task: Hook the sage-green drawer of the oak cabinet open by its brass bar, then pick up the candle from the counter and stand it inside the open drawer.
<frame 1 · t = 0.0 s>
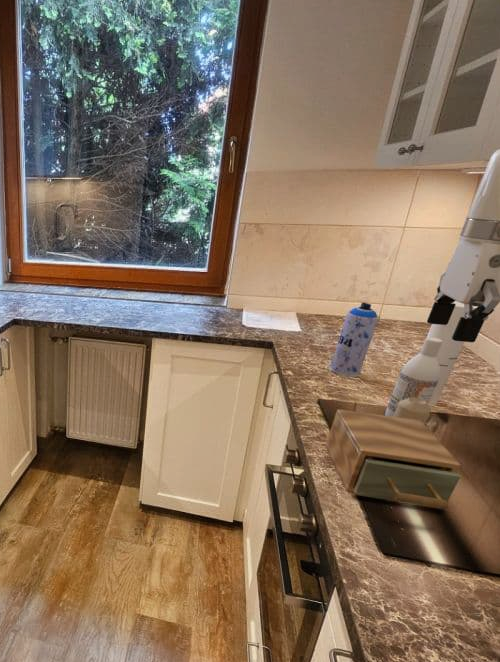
hand: (449, 332, 84), 27 cm above the countertop, tool pointing down, fingers open, 9 cm apart
drawer: (396, 471, 84), point 4 cm above the countertop, slide at 1.0 cm
bath foam: (401, 420, 110), on the countertop
aerosol can: (344, 371, 136), on the countertop
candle: (399, 441, 102), on the countertop
cylindrical container: (419, 399, 121), on the countertop
cabinet: (377, 473, 91), on the countertop
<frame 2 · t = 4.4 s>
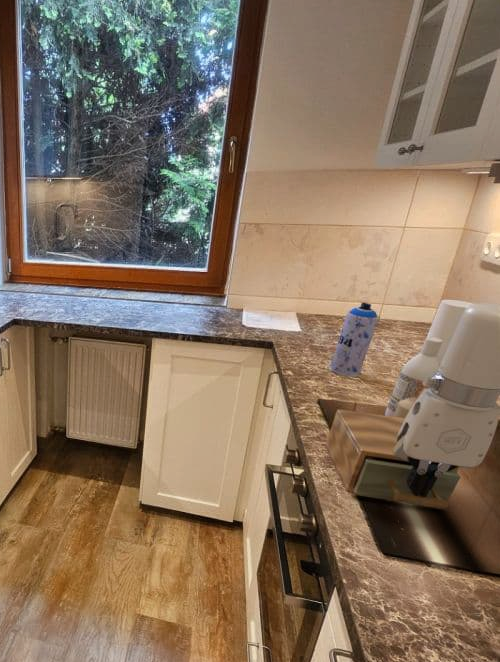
hand: (416, 490, 76), 6 cm above the countertop, tool pointing down, fingers closed
drawer: (396, 471, 84), point 4 cm above the countertop, slide at 1.0 cm, touching gripper
everything else where it was.
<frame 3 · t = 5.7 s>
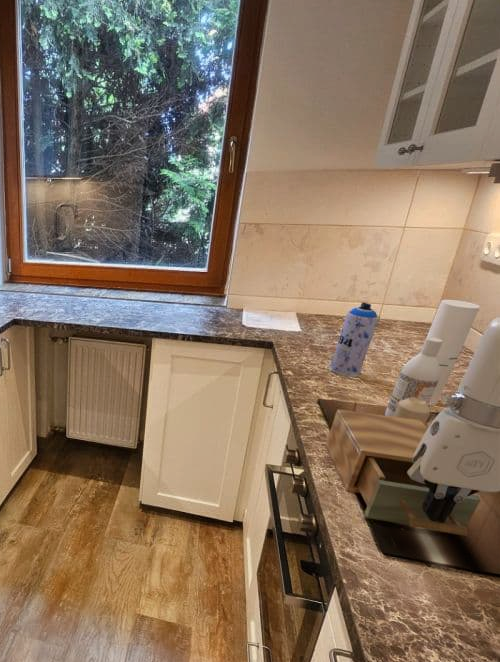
hand: (432, 515, 71), 6 cm above the countertop, tool pointing down, fingers closed
drawer: (410, 492, 78), point 4 cm above the countertop, slide at 7.2 cm, touching gripper
everything else where it was.
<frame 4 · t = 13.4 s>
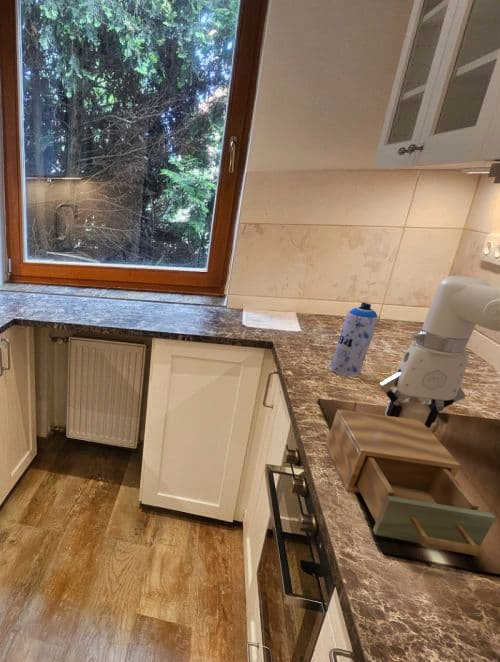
hand: (408, 421, 100), 5 cm above the countertop, tool pointing down, fingers closed on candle, 5 cm apart
drawer: (420, 508, 75), point 4 cm above the countertop, slide at 11.3 cm
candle: (399, 441, 102), on the countertop, touching gripper
everything else where it was.
when the fingers open (7 cm above the countertop, at t = 20.6 s): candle stays where it is, resting on drawer.
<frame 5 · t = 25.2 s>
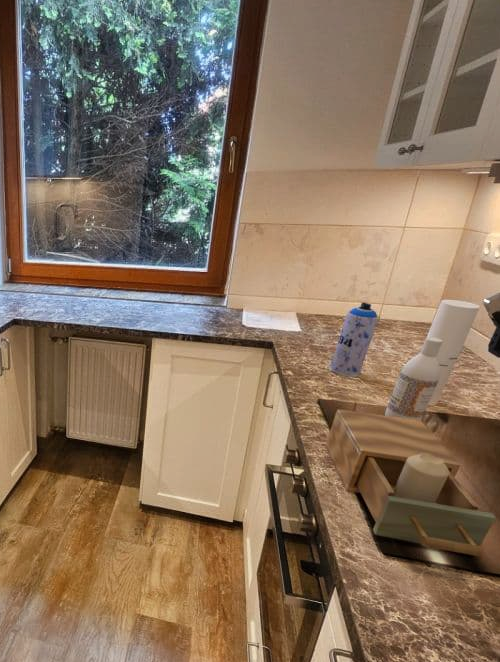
drawer: (420, 508, 75), point 4 cm above the countertop, slide at 11.4 cm, touching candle
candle: (407, 508, 78), point 2 cm above the countertop, touching drawer
everything else where it was.
at the end: drawer slide at 11.4 cm; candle inside the target area in the drawer (0.1 cm from its centre), point 1.9 cm above the cabinet's base; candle tilted 0° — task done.
